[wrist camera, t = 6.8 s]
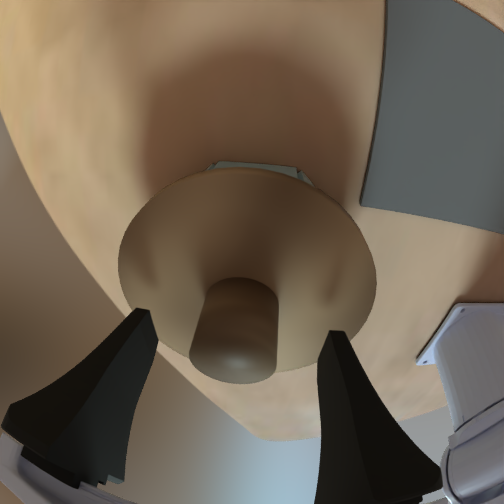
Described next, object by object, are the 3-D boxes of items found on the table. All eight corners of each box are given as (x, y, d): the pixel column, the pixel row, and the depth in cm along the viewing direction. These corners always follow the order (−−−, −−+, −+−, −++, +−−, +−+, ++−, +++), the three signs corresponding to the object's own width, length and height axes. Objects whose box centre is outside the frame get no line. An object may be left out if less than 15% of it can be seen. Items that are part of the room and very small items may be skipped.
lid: (410, 199, 9) (458, 257, 6) (327, 370, 16) (330, 424, 13) (111, 156, 9) (48, 197, 6) (144, 342, 16) (124, 392, 13)
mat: (544, 70, 6) (547, 71, 5) (509, 234, 13) (511, 236, 13) (385, -26, 6) (387, -28, 6) (359, 203, 14) (360, 206, 13)
